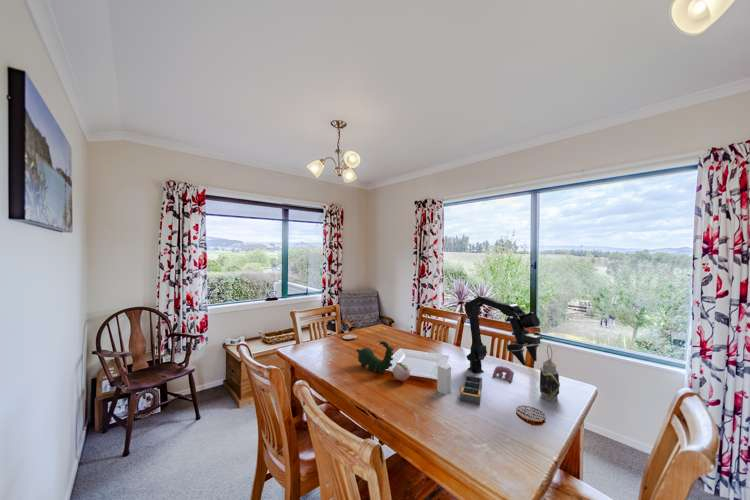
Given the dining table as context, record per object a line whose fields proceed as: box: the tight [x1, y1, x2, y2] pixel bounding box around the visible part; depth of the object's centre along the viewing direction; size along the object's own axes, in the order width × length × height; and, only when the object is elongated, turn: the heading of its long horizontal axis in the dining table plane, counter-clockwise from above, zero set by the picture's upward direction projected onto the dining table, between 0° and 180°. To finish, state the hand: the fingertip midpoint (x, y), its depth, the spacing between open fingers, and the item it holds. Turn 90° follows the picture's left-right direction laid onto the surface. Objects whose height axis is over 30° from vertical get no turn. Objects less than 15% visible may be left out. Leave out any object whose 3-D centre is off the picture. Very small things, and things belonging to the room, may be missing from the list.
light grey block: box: [436, 363, 452, 396], centre depth 138 cm, size 4×5×12 cm
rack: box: [459, 374, 483, 406], centre depth 137 cm, size 20×8×4 cm, turn 157°
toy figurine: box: [355, 340, 394, 374], centre depth 163 cm, size 9×19×25 cm
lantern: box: [539, 344, 561, 403], centre depth 132 cm, size 9×8×25 cm
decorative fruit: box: [392, 361, 411, 382], centre depth 148 cm, size 9×8×10 cm
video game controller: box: [492, 365, 515, 383], centre depth 153 cm, size 10×5×7 cm, turn 47°
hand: (529, 363), depth 134 cm, fingers open, 9 cm apart
